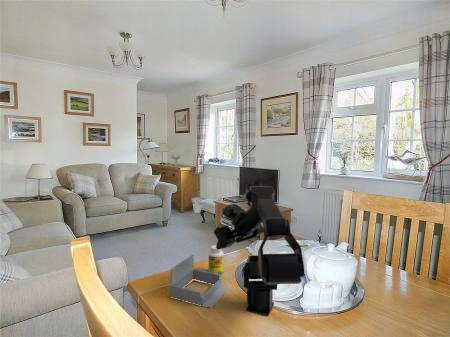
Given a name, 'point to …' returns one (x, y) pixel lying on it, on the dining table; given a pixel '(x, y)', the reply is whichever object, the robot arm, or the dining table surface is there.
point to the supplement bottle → (216, 260)
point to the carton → (187, 272)
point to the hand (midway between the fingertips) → (226, 244)
